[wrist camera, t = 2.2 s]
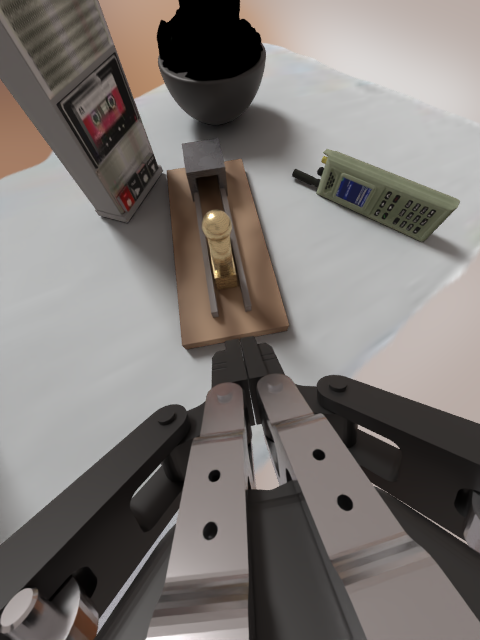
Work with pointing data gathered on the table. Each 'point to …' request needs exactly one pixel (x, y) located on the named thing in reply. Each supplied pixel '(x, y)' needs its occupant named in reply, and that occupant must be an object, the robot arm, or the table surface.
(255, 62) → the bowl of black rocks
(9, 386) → the table surface
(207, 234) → the brass bolt
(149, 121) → the table surface
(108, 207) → the cassette tape recorder
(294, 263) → the table surface
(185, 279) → the wooden track base
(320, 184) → the handheld radio
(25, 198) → the table surface
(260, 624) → the robot arm
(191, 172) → the steel keeper
